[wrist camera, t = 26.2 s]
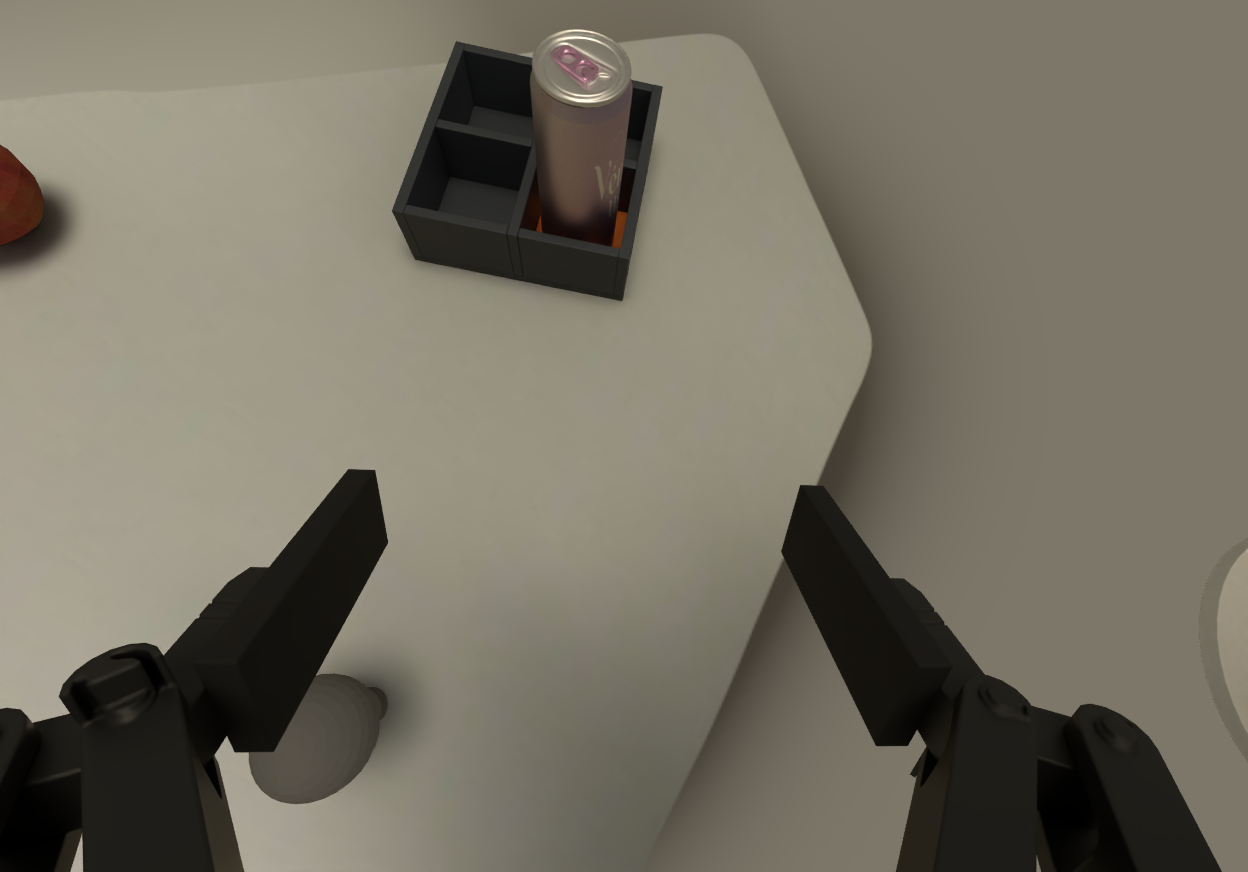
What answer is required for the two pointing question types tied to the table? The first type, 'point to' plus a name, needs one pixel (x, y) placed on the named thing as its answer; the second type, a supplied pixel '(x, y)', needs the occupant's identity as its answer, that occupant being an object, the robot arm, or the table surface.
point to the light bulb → (322, 741)
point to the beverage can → (580, 132)
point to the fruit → (17, 198)
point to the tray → (509, 181)
